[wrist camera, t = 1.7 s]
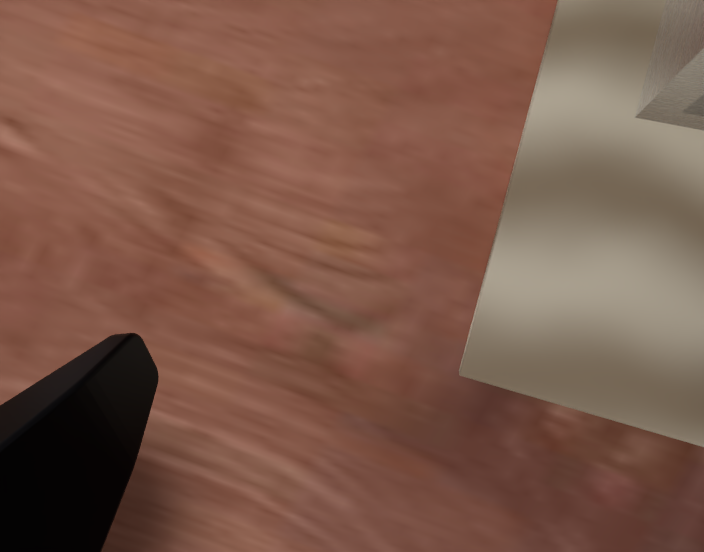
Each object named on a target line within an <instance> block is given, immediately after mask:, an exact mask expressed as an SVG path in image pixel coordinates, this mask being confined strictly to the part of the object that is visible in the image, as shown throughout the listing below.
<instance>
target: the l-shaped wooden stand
mask: <svg viewBox="0 0 704 552" xmlns="http://www.w3.org/2000/svg"><path fill="white" fill-rule="evenodd" d="M665 2H666V0H558V2H557V6H556V9H555V13H554V17H553V21H552V24H551V28H550V32H549V36H548V39H547V43H546V47H545V51H544V54H543V58H542V62H541V66H540V69H539V73H538V77H537V81H536V84H535V88H534V92H533V96H532V99H531V103H530V107H529V111H528V114H527V118H526V122H525V125H524V129H523V133H522V137H521V140H520V144H519V148H518V152H517V155H516V159H515V163H514V167H513V170H512V174H511V178H510V182H509V185H508V189H507V193H506V197H505V200H504V204H503V208H502V212H501V215H500V219H499V223H498V227H497V230H496V234H495V238H494V242H493V245H492V249H491V253H490V256H489V260H488V264H487V268H486V271H485V275H484V279H483V283H482V286H481V290H480V294H479V298H478V301H477V305H476V309H475V313H474V316H473V320H472V324H471V328H470V331H469V335H468V339H467V343H466V346H465V350H464V354H463V358H462V361H461V365H460V369H459V375H460V376H463V377H467V378H470V379H474V380H477V381H480V382H484V383H487V384H491V385H494V386H497V387H501V388H504V389H508V390H511V391H514V392H518V393H521V394H525V395H528V396H532V397H535V398H538V399H542V400H545V401H549V402H552V403H555V404H559V405H562V406H566V407H569V408H572V409H576V410H579V411H583V412H586V413H589V414H593V415H596V416H600V417H603V418H607V419H610V420H613V421H617V422H620V423H624V424H627V425H630V426H634V427H637V428H641V429H644V430H647V431H651V432H654V433H658V434H661V435H664V436H668V437H671V438H675V439H678V440H682V441H685V442H688V443H692V444H695V445H699V446H702V447H704V130H699V129H693V128H688V127H683V126H677V125H672V124H666V123H661V122H656V121H650V120H645V119H640V118H635V115H636V111H637V107H638V103H639V100H640V96H641V92H642V88H643V85H644V81H645V77H646V73H647V70H648V66H649V62H650V58H651V55H652V51H653V47H654V43H655V40H656V36H657V32H658V28H659V25H660V21H661V17H662V13H663V10H664V6H665Z"/></svg>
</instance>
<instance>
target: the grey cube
mask: <svg viewBox="0 0 704 552" xmlns="http://www.w3.org/2000/svg"><path fill="white" fill-rule="evenodd" d="M635 118H640V119H645V120H650V121H656V122H661V123H666V124H672V125H677V126H683V127H688V128H693V129H699V130H704V0H666V2H665V6H664V10H663V13H662V17H661V21H660V25H659V28H658V32H657V36H656V40H655V43H654V47H653V51H652V55H651V58H650V62H649V66H648V70H647V73H646V77H645V81H644V85H643V88H642V92H641V96H640V100H639V103H638V107H637V111H636V115H635Z"/></svg>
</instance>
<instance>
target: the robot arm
mask: <svg viewBox="0 0 704 552" xmlns="http://www.w3.org/2000/svg"><path fill="white" fill-rule="evenodd" d="M157 385H158V371H157V367H156V365H155V363H154V361H153V359H152V357H151V355H150V353H149V351H148V349H147V347H146V345H145V343H144V341H143V339H142V338H141V337H140V336H139V335H138V334H135V333H126V334H115V335H112V336H110V337H108V338H106V339H105V340H103V341H102V342H100V343H99V344H97V345H95V346H94V347H92V348H91V349H89V350H87V351H86V352H84V353H83V354H81V355H80V356H78V357H76V358H75V359H73V360H72V361H70V362H68V363H67V364H65V365H64V366H62V367H61V368H59V369H57V370H56V371H54V372H53V373H51V374H49V375H48V376H46V377H45V378H43V379H42V380H40V381H38V382H37V383H35V384H34V385H32V386H30V387H29V388H27V389H26V390H24V391H23V392H21V393H19V394H18V395H16V396H15V397H13V398H12V399H10V400H8V401H7V402H5V403H4V404H2V405H0V552H101V551H102V548H103V545H104V543H105V540H106V538H107V535H108V533H109V530H110V528H111V525H112V522H113V520H114V517H115V515H116V512H117V510H118V507H119V505H120V502H121V499H122V497H123V494H124V492H125V489H126V487H127V484H128V482H129V479H130V476H131V474H132V471H133V468H134V465H135V462H136V459H137V456H138V453H139V449H140V446H141V442H142V438H143V435H144V431H145V428H146V424H147V420H148V417H149V413H150V410H151V406H152V403H153V399H154V395H155V392H156V388H157Z"/></svg>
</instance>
